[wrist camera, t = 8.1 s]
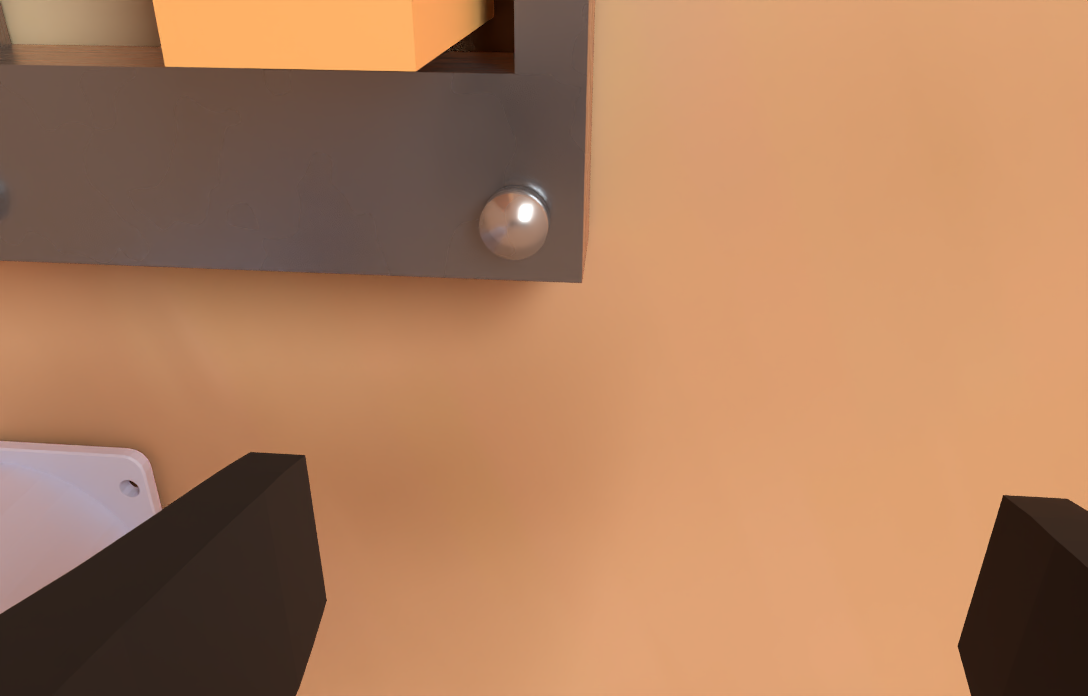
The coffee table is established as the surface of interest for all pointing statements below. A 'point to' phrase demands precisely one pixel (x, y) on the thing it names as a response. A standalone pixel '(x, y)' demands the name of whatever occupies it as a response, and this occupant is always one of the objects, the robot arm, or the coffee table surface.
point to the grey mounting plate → (305, 159)
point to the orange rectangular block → (314, 32)
